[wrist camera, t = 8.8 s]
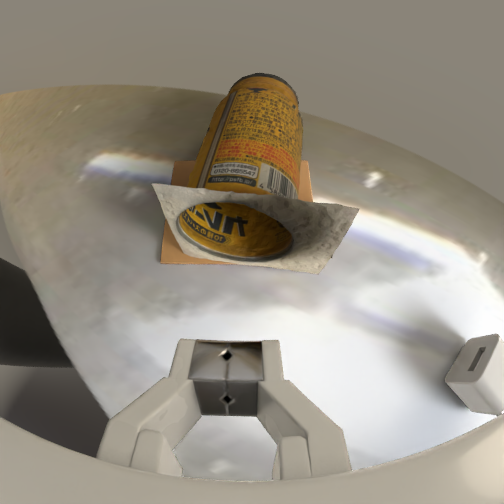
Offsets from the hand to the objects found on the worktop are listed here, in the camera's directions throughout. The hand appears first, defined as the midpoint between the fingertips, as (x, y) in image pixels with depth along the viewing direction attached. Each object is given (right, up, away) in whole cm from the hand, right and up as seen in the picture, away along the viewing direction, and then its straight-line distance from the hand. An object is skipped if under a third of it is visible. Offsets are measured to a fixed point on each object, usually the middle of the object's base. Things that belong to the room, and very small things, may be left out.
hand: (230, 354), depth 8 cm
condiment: (+1, +4, +5) cm, 7 cm away
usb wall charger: (+18, -7, +6) cm, 20 cm away
